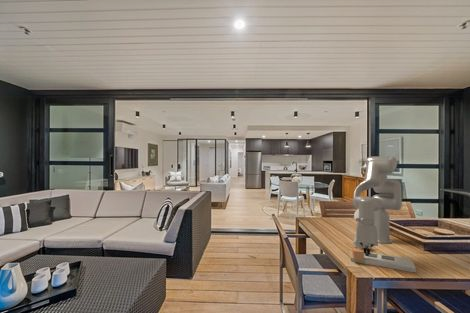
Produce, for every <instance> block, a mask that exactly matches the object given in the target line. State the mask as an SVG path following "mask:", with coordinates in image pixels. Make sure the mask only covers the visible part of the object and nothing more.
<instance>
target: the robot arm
mask: <svg viewBox="0 0 470 313" xmlns="http://www.w3.org/2000/svg"><path fill="white" fill-rule="evenodd" d="M365 164H366V168H365V172H364V173H365V174H364V180H363V181H362V182H360V183H359V184H358V185H357V186H356V188H354V191H353V197H352V205H353V207H354V208H355V209H356V210H357V209H359V218H356V220H355V221H356V223H357V221H358V223H357V224H356V231H355V232H356V233H355V236H356V243H358V244H361V245H362V246H363V248H364V249H363V251H364V253H365V256H369V254H370V253H371V249H372V248H373V247H378V246H379V243H381V244H392V243H393V239H392V238H390V237H391V236H390V232H391V231H390V230H391V229H390V214H389V213H388V211H387V210H391V211H392V210H393V211H399V210H402V207H403V206H402V205H403V201H402V199H403V196H402V186H401V182H400V181H399V180H396V179H388V174H393V173H394V172H395V170H396V169H397V167H398V160H397V157H396V156H391V155H390V156H389V155H388V156H387V155H386V156H376V155H375V156H368V157H367V158H366V159H365ZM370 189H373V191H374V192H375V193H378V194H374V195H372V196H366V195H365V196H364V195H361V194H362V193H363V192H364V191H367V190H370ZM365 243H368V246H367V247H366V245H365Z"/></svg>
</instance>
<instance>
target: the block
mask: <svg viewBox="0 0 470 313" xmlns="http://www.w3.org/2000/svg"><path fill="white" fill-rule="evenodd" d="M351 252H352V257H353V259H354V260H363V261H364V249H358V248H357V247H356V248H355V247H352V248H351Z"/></svg>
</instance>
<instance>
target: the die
mask: <svg viewBox="0 0 470 313" xmlns="http://www.w3.org/2000/svg"><path fill="white" fill-rule="evenodd" d="M352 243H353V244H354V246H355V247H356V248H358V249H362V250H364V248H363V246H362V245H361V244H358V243H356V235H355V236H354V239H353V241H352ZM365 245H366V247H367V246H368V243H365Z"/></svg>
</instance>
